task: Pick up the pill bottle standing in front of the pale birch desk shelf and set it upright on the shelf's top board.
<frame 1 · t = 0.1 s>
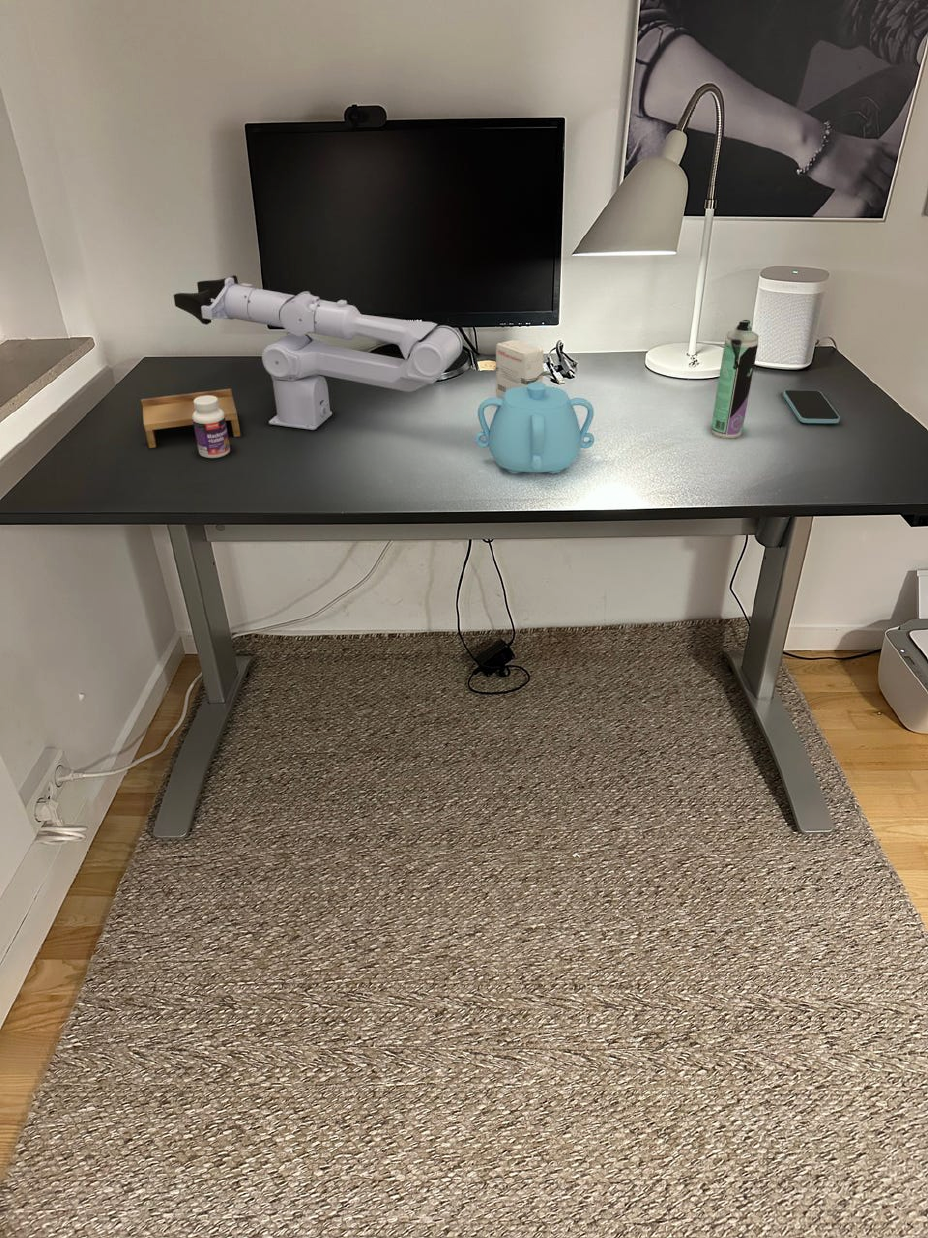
hand: (187, 293, 163), 22 cm above the table, tool horizontal, fingers open, 7 cm apart
pill bottle: (215, 453, 159), on the table
decorative pot: (533, 462, 155), on the table
spray can: (726, 432, 164), on the table
desk shelf: (193, 432, 166), on the table
smartphone: (809, 409, 171), on the table
ink box: (518, 407, 174), on the table
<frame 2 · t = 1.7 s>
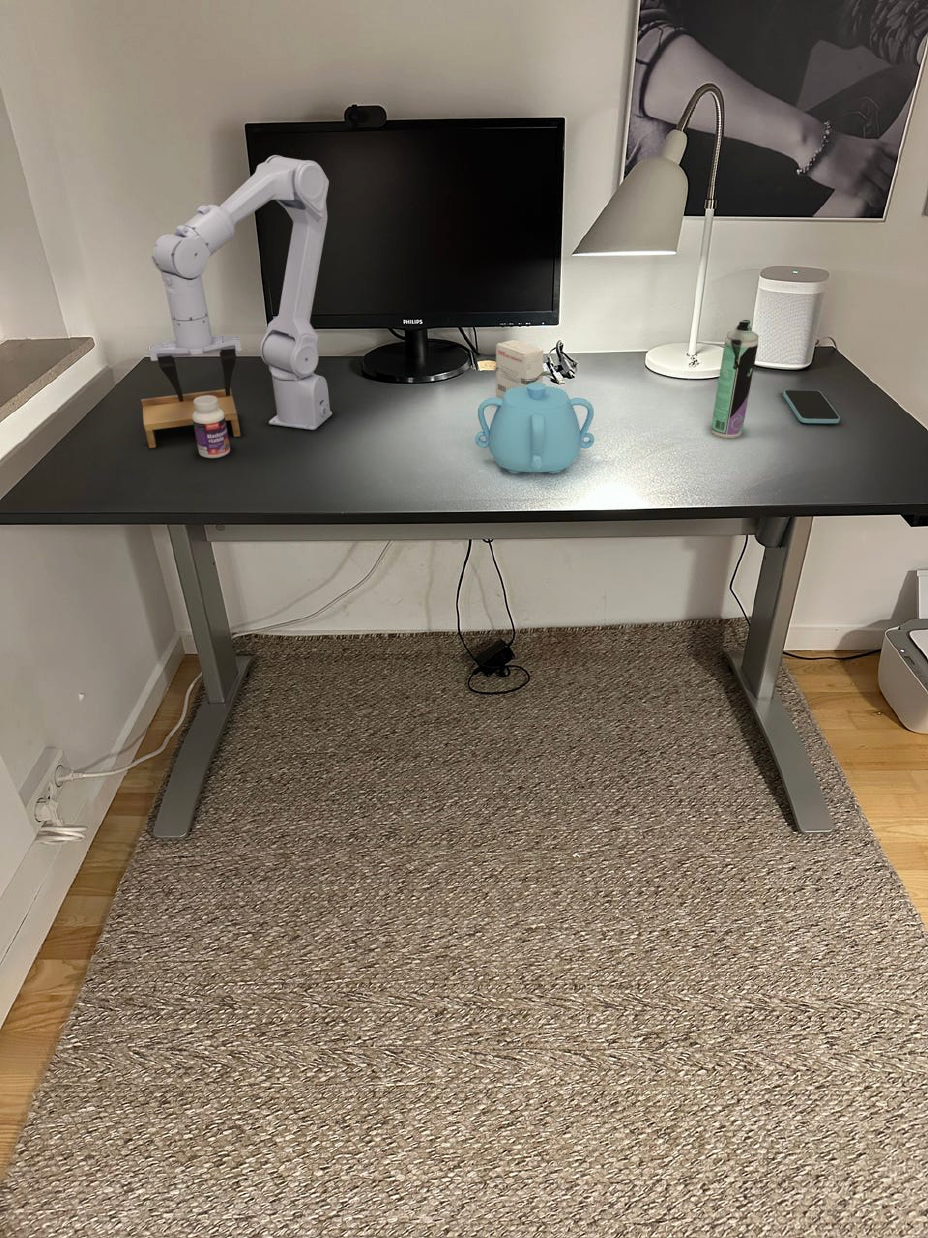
hand: (204, 396, 153), 10 cm above the table, tool pointing down, fingers open, 7 cm apart
nothing on the table moved.
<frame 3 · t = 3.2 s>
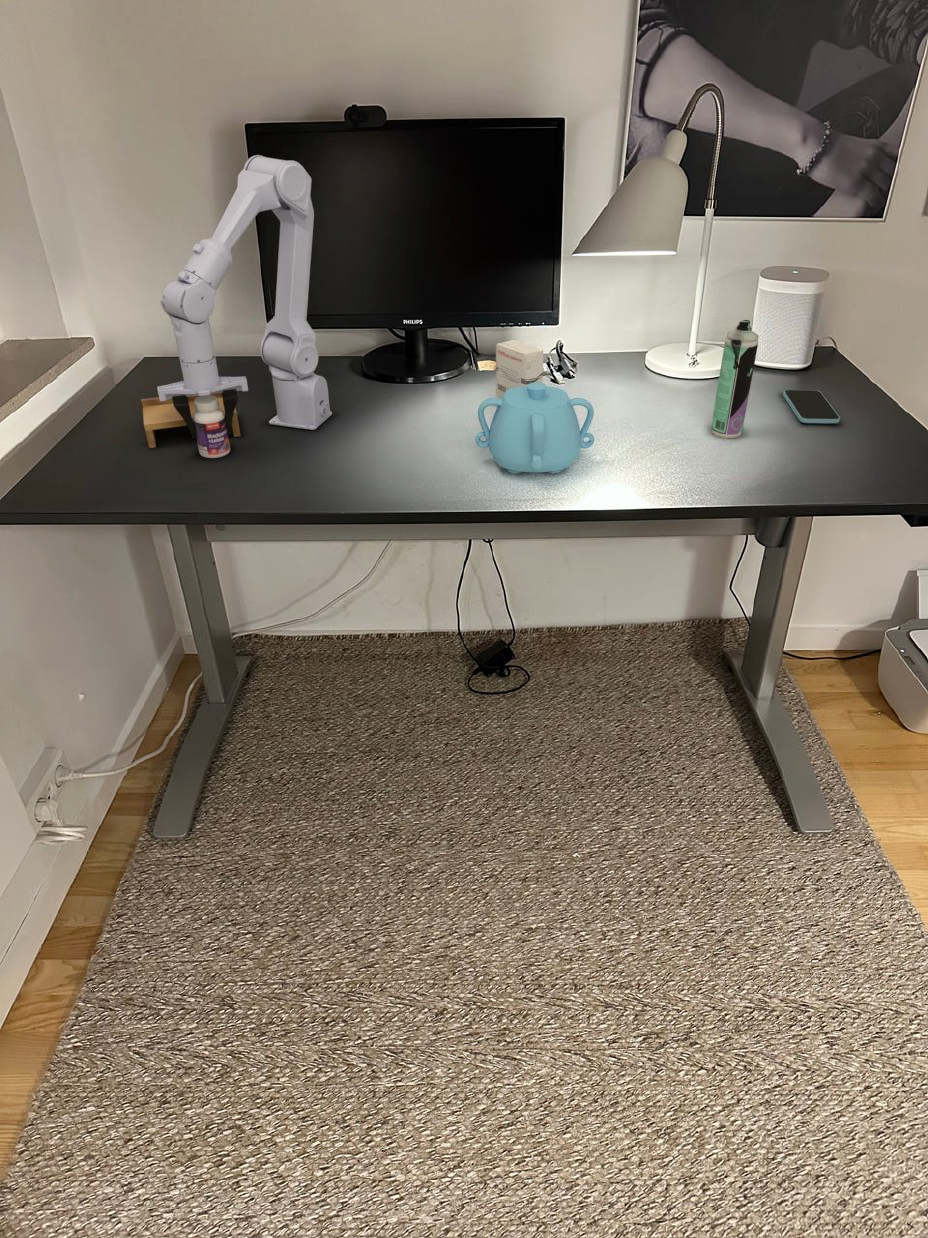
hand: (211, 434, 157), 3 cm above the table, tool pointing down, fingers closed on pill bottle, 5 cm apart
pill bottle: (215, 453, 159), on the table, touching gripper
everything else where it was.
when the fingers open (8 cm above the table, at t = 6.9 s): pill bottle stays where it is, resting on desk shelf.
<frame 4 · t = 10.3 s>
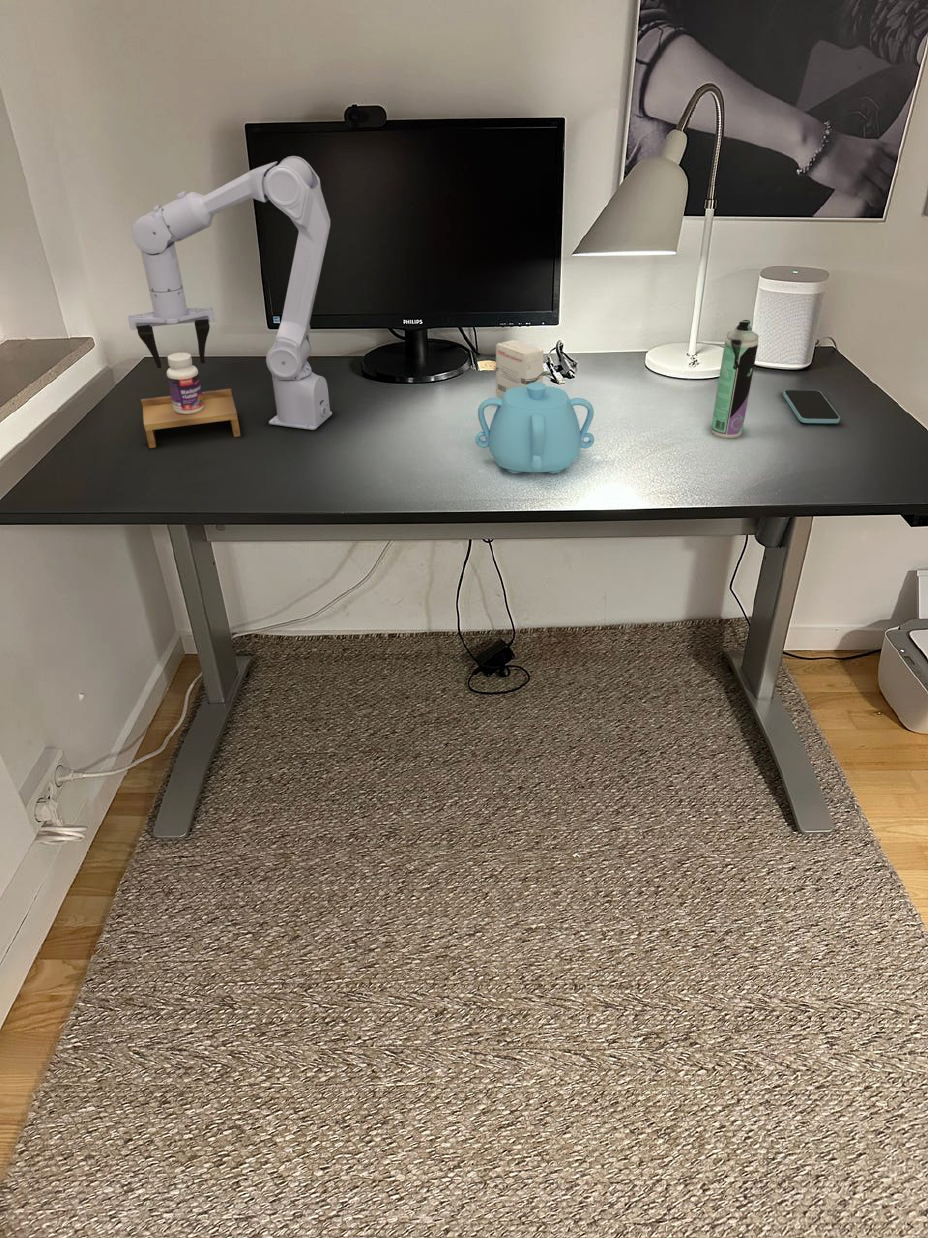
hand: (180, 363, 165), 10 cm above the table, tool pointing down, fingers open, 7 cm apart
pill bottle: (189, 409, 163), point 4 cm above the table, touching desk shelf
everything else where it was.
at the end: pill bottle inside the target area on the desk shelf (0.0 cm from its centre), point 4.3 cm above the desk shelf's base; pill bottle tilted 0°; the gripper is holding nothing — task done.
